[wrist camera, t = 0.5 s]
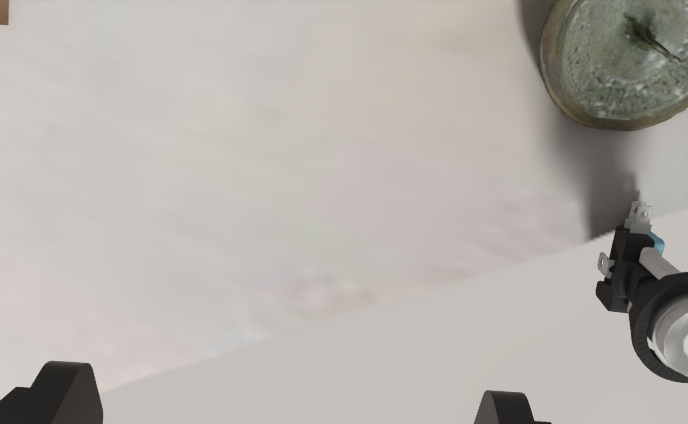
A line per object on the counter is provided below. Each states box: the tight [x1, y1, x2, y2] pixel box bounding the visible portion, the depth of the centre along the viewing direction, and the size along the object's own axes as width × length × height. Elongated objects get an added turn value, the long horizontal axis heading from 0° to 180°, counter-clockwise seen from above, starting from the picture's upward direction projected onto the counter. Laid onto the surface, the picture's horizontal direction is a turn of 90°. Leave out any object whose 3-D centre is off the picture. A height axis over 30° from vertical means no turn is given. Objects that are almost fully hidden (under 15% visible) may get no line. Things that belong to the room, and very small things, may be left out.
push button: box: [596, 201, 688, 383], centre depth 30 cm, size 7×5×10 cm
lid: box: [538, 0, 688, 131], centre depth 29 cm, size 11×10×5 cm
